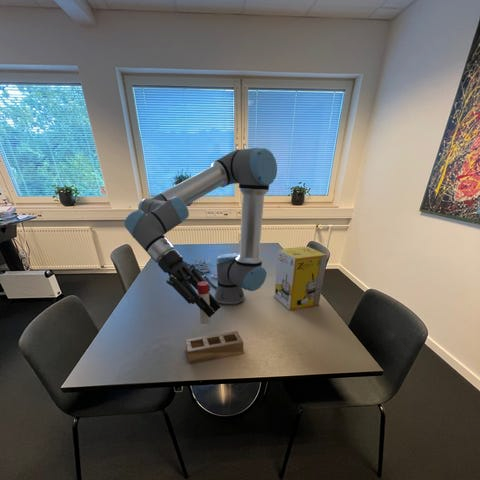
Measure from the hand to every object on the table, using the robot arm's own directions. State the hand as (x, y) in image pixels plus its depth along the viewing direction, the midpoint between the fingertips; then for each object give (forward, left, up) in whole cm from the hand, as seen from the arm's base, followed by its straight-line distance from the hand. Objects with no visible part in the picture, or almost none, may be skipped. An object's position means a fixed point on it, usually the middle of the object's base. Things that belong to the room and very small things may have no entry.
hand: (215, 312), depth 84 cm
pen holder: (-2, -1, -18) cm, 18 cm away
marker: (-2, -3, -5) cm, 6 cm away
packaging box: (-32, +48, -18) cm, 61 cm away
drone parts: (-90, +18, -18) cm, 94 cm away
